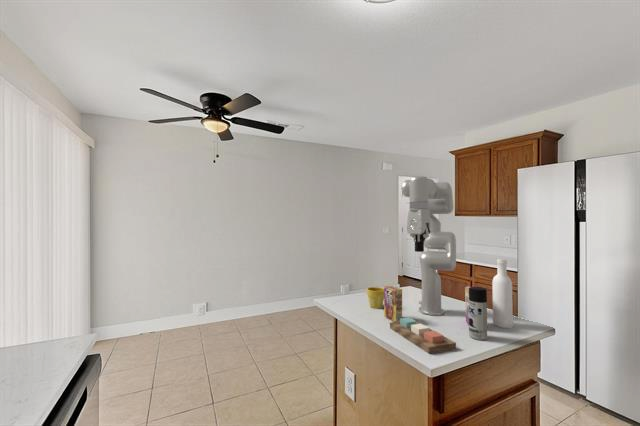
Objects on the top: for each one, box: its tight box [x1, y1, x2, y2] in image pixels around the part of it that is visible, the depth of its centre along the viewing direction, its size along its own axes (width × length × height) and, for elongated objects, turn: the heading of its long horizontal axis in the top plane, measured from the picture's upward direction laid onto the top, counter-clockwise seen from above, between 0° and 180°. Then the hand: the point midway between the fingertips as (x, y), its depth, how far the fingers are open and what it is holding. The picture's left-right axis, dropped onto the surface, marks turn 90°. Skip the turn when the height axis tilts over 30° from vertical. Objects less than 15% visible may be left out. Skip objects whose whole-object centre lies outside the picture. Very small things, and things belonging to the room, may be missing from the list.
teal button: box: [400, 317, 418, 328], centre depth 126 cm, size 5×5×3 cm
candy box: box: [383, 285, 403, 322], centre depth 141 cm, size 9×4×15 cm, turn 26°
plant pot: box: [366, 286, 384, 309], centre depth 160 cm, size 10×10×10 cm
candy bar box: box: [464, 286, 470, 326], centre depth 132 cm, size 11×5×16 cm, turn 163°
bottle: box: [491, 258, 514, 329], centre depth 133 cm, size 8×8×30 cm
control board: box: [389, 321, 457, 355], centre depth 118 cm, size 26×12×2 cm, turn 18°
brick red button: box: [424, 330, 444, 344], centre depth 111 cm, size 5×5×3 cm
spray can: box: [468, 286, 488, 341], centre depth 119 cm, size 7×7×20 cm
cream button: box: [411, 323, 430, 336], centre depth 118 cm, size 5×5×3 cm
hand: (419, 251), depth 119 cm, fingers closed
